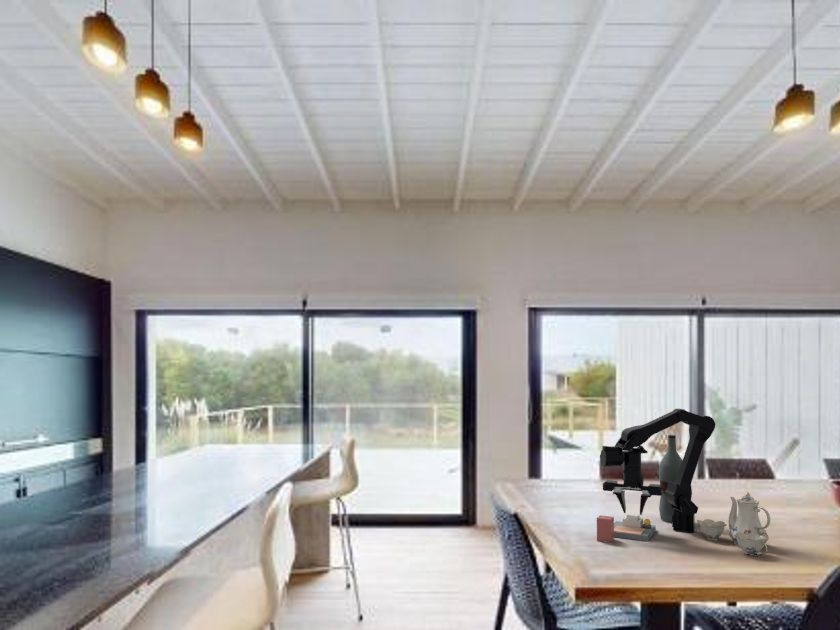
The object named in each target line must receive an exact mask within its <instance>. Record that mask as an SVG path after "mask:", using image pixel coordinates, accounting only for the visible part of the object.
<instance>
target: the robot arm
mask: <svg viewBox="0 0 840 630" xmlns="http://www.w3.org/2000/svg"><path fill="white" fill-rule="evenodd" d="M679 423H684V424H686V425H688V426H689V428H688V433H689V435H688V436H689V440H688V443H687V447H686V449H685V452H684V455H683V458H682V460H683V461H682V464H681V467H680V470H679V473H678V476H677V478H676V479H675V481H674V482H671V481H669V482H668V487H667V489H666V491H665V492H666V499H667V501H668V502H669V503H670V504H671V507H672V509H675V510H674V514H673V515H672V523H671V526H672V531H677V532H684V533H695V531H696V530H697V529H696V528H697V527H696V525H695V524H696V523H695V521H696V520H695V519H696V518H695V517H696V516H695V515H697V513H698V510H699V507H698V506H697V504H695V503H694V502H693V501H692V495H693V489H692V482H693V479H694V475H695V473H696V469H697V466H698V463H699V461H700V458H701V454H702V451H703V448H704V446H705V443H706V442H707V440H709V439H710V438H711V436H712V435H713V433H714V431H715V428H716V422H715V419H714V418H713V417H711V416H709V415H703V414H697V413H694V412H690V411H688V410H686V409H683V408H674V409H673V410H672V411H670V412H666V414H663V415H661V416H659V417H657V418H655V419H652V420H650V421H648V422H646V423H644V424H640V425H639V424H638V425H633V426H630V427H627V428H624V429H623V430H622V431H621V433H620V437H619V439H618V440H617V441H616V443H615V445H614V446H611V445H610V446H607V445H602V448H601V450H600V455H599V461H600V465H601V467H605V468H608V467H609V468H610V467H612V468H613V467H614V468H615V467H618V468H619V467H621V466H622V465H623V467H622V468H623V469H622V476H621V479H622V481H623V483H618V480H614V479H613V480H611V479H610V480H609V479H606V480H605V481H604V482H603V483H602V491H604V492H612V494H613V495H615V496H616V498H617V500H618V502H619V504H620V507H621V509H622V512H623V514H626V512H627V507H626V505H627V504H626V498H625V497H626V496H625V495H626V493H625V491H636V492H641V494H640V500H639V501H640V503H639V504H640V505H639V516H642V515H643V512H644V509H645V506H646V502H647V500H648V498H651V497H652V496H656V497H657V496H658V497H659V496H660V497H661V495H662V494H663V486H662V485H660V483H650V484H649V485H644V481H645V476H644V475H643V474H642V454H648V450H646V449H645V447H644V446H642V445H643V444H644V443H646V442H647V441H648V440H649V439H650V438H651V437H652V436H655V435H656V434H659V433H660V432H663V431H664V430H666V429H669V428H670V427H672V426H675V425H677V424H679Z"/></svg>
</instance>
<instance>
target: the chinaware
mask: <svg viewBox="0 0 840 630" xmlns="http://www.w3.org/2000/svg"><path fill="white" fill-rule="evenodd" d="M730 500H731V504H732V505H731V508H730V511H729V515H728V529H729V533H728V535H729V537H730V538H731V540H732V541H733V545H734V546H737V547H739V548H740V549H741V550H742V551H744V554H745V553H746V554H750V555H749V556H752V555H754V554H757V555H756V556H760V554H763V555H765V554H767V553H768V546H767V542H768V541H769V539H770V538H769V535H768V533H767V530H766V529H767V528H768V527H769V526H770V524H771V515H770V514H769V511H768V510H767V509H766V508H764V507H763V506H759V504H760V501H758V500H756V499H754V497H753V496H751V494H750V493H749V492H748V491H747V492H746V493H745V494H744V495H743V496H742V497H741V498H740V499H738V498H737V499H736V498H735V497H734V496H730ZM761 510H762V511H763V512H764V513H765V514H766V519H767V522H766V524H765V525H764V526H763V525H762V523H761V520H760V517H759V513H760V512H761ZM696 521H697V524H698V526H699V529H700V531H701V533H702V534H703V535H704V536H706V538H705V539H706V540H708V541H718V540H719V537H721V536H722V534H723V532H724V530H725V528H726V527H727V524H726V523H725V522H724V521H722V520H717V521H715V520H713V519H704V520H701V519H698V520H696ZM763 547H764V548H765V552H762V551H761V550H762V549H764V548H763ZM746 554H745V555H746ZM754 556H755V555H754Z"/></svg>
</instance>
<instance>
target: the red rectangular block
mask: <svg viewBox="0 0 840 630" xmlns="http://www.w3.org/2000/svg"><path fill="white" fill-rule="evenodd" d="M614 523H615V517H614V516H609V515H608V516H607V515H600V514H599V515H598V517H597V518H596V542H603V541H606V542H605V543H613V541H614V540H615V537H614Z"/></svg>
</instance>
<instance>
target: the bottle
mask: <svg viewBox="0 0 840 630" xmlns="http://www.w3.org/2000/svg"><path fill="white" fill-rule="evenodd" d="M676 438H677V437H676V434H668V435H667V451H666V453H665V454H664V456H663V457H662V459H661V461H660V462H659V465H658V466H659V467H658V478H659V485H662V486H663V494H662V495H661V496H660V498H659V505H658V507H659V508H658V509H659V516H660V517H659V518H660V520H661V521H662V522H665V523H671V524H672V515H673V514H674V510H675V509H672V507H671V504H670V503H669V502H668V501H667V499H666V492H665V491H666V489H667V487H668V482H669V481H671V482H674V481H675V479H676V478H677V476H678V473H679V470H680V467H681V464H682V461H683V458H682V457H681V455H680V454H679V453H678V451H677V439H676Z"/></svg>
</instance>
